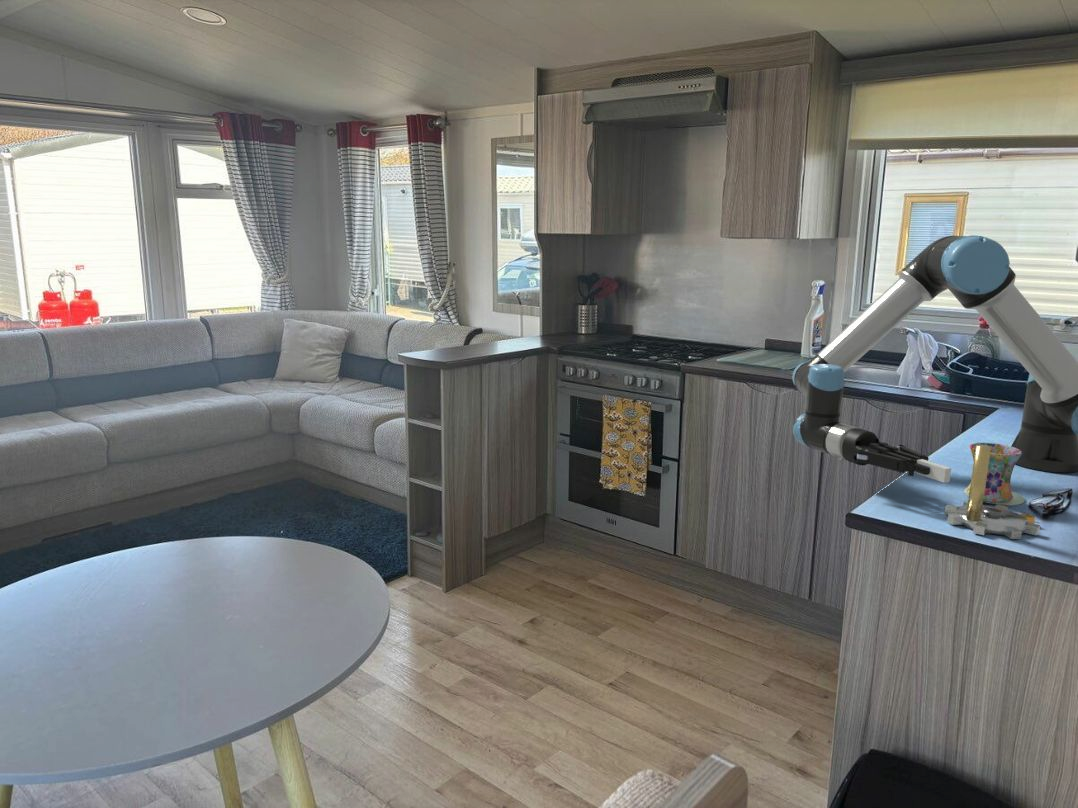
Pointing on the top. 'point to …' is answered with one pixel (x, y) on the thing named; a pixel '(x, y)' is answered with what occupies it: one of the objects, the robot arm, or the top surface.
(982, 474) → the sprocket
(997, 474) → the mug
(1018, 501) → the pale green plate
